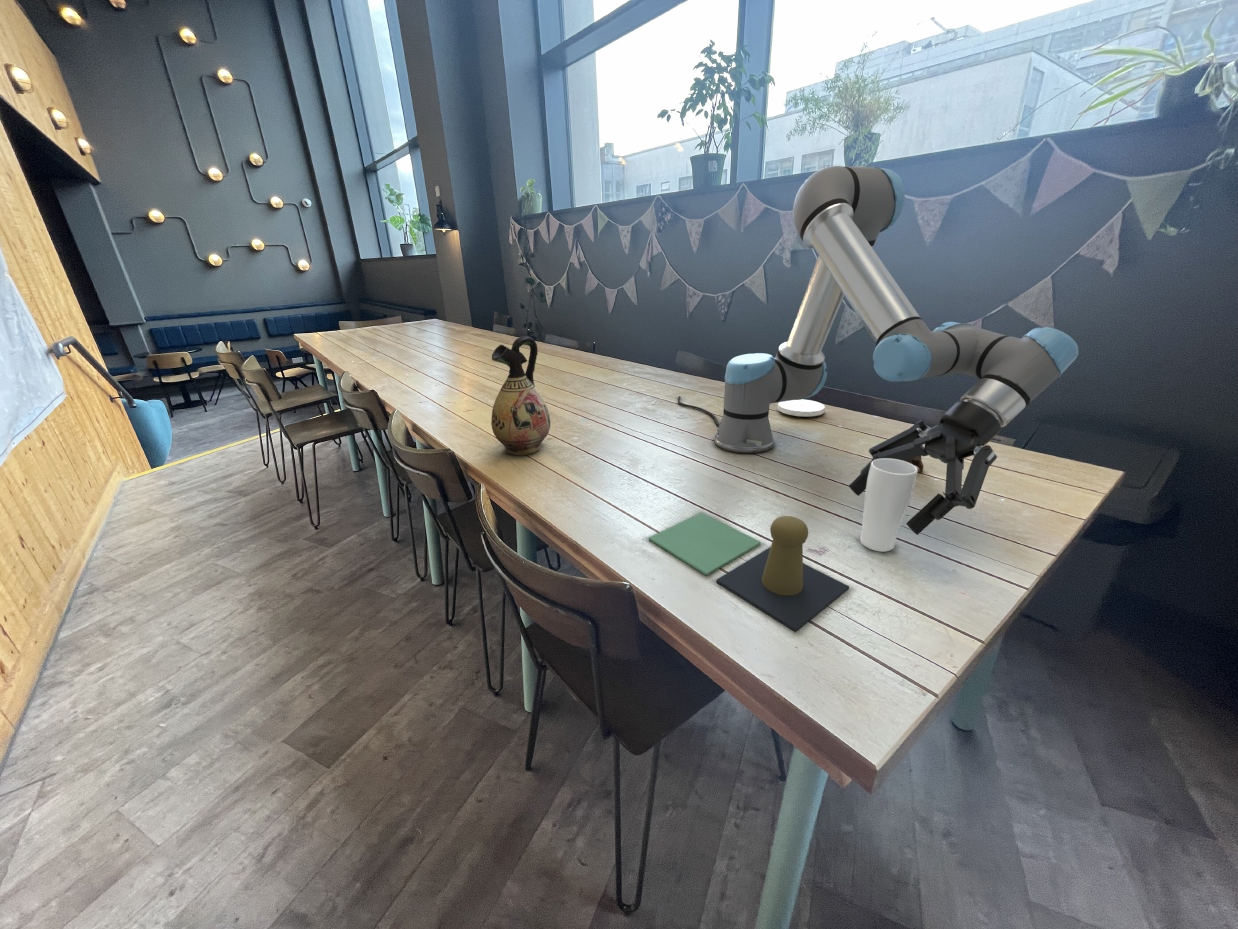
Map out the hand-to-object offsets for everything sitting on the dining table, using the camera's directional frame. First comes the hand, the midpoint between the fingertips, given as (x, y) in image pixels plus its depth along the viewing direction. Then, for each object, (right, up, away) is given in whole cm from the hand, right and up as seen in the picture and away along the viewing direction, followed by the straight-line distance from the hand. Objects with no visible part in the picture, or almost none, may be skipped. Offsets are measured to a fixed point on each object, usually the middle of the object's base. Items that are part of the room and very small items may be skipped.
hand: (880, 508), depth 78 cm
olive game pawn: (-19, -11, -6) cm, 23 cm away
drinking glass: (+1, -7, +3) cm, 7 cm away
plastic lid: (+15, +24, +72) cm, 77 cm away
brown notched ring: (+21, +6, +31) cm, 38 cm away
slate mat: (-19, -11, -6) cm, 23 cm away
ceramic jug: (-69, +12, +50) cm, 86 cm away
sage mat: (-28, -6, +5) cm, 30 cm away
